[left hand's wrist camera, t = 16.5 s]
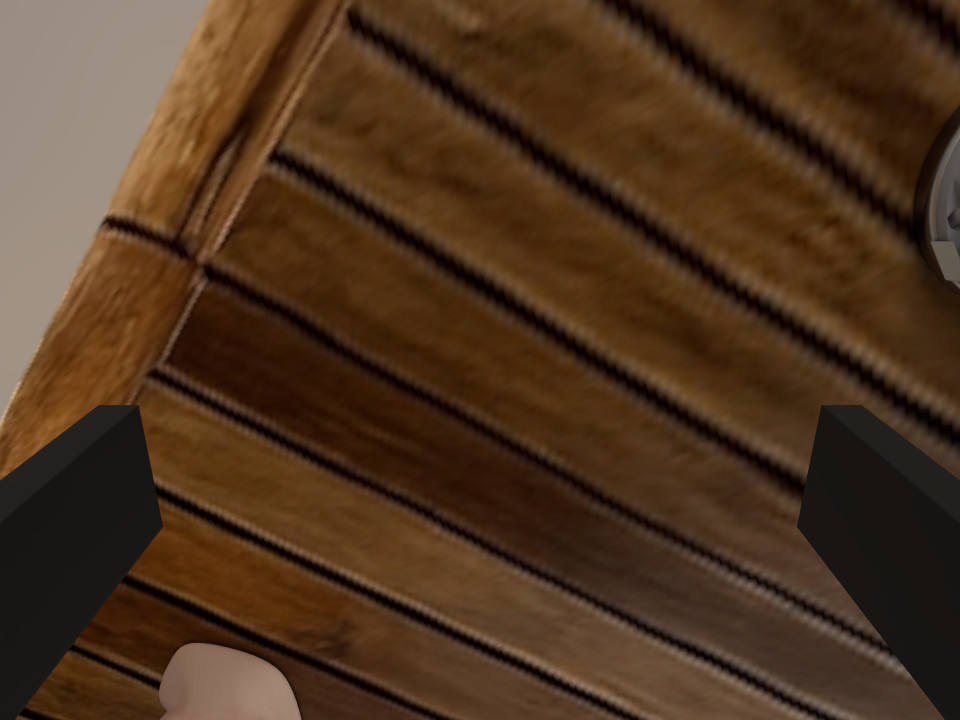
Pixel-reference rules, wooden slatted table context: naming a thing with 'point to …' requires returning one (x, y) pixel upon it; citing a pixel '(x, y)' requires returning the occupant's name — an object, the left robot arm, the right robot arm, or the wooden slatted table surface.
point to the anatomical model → (224, 686)
